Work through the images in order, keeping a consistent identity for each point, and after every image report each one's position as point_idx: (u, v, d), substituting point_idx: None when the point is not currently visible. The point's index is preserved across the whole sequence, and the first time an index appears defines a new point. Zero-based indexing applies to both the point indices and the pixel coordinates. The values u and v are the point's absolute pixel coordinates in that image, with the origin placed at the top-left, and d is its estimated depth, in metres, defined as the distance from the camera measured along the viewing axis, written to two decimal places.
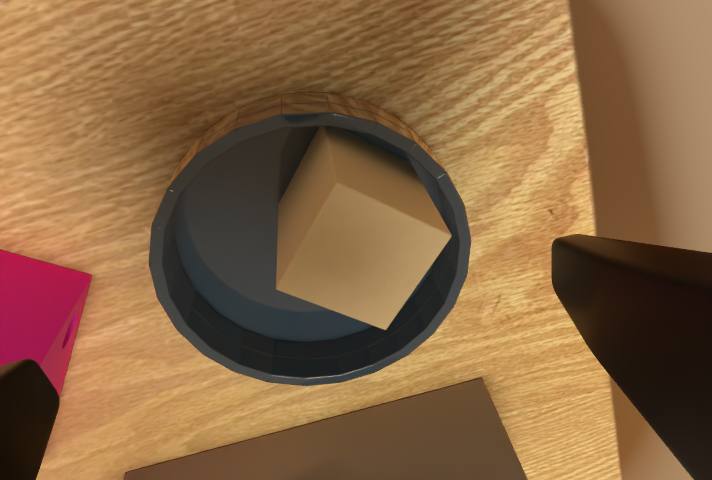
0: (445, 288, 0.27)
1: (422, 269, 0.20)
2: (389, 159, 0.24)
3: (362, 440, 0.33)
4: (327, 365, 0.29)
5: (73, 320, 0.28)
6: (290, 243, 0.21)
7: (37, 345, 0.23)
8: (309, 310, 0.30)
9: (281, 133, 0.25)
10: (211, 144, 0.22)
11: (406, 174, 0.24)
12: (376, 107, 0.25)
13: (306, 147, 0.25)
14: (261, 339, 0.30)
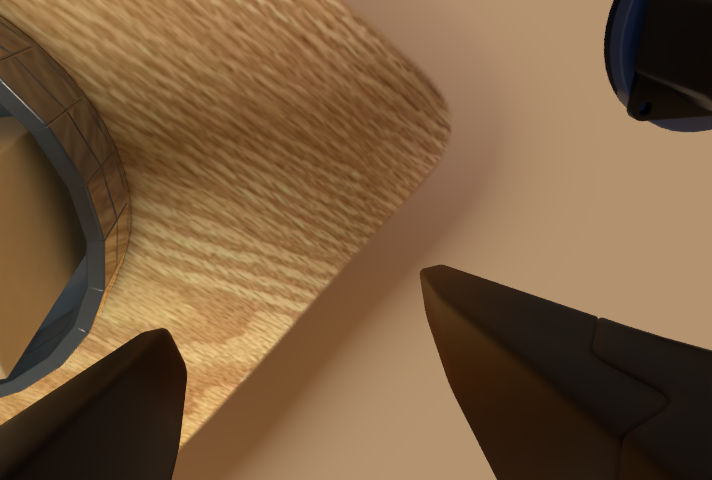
0: None
1: None
2: (70, 219, 0.18)
3: None
4: None
5: None
6: None
7: None
8: None
9: None
10: None
11: (65, 252, 0.18)
12: (118, 163, 0.19)
13: (2, 115, 0.18)
14: None
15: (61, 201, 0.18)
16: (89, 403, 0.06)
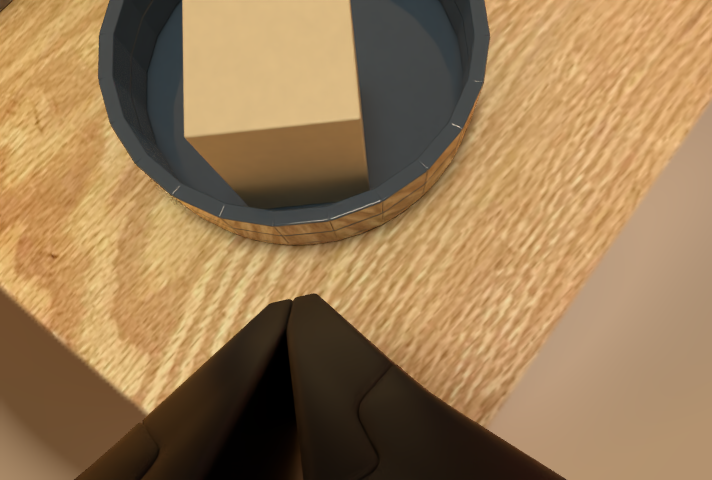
0: (122, 95, 0.21)
1: (191, 79, 0.15)
2: (282, 197, 0.21)
3: None
4: None
5: None
6: (353, 33, 0.17)
7: None
8: None
9: (400, 160, 0.22)
10: (474, 102, 0.19)
11: (258, 190, 0.19)
12: (324, 241, 0.22)
13: (367, 161, 0.22)
14: None
15: (302, 193, 0.20)
16: (264, 363, 0.06)
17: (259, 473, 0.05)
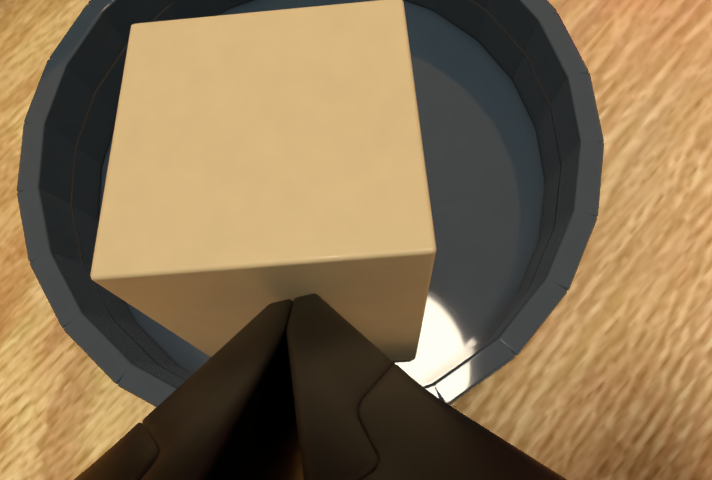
0: (54, 213, 0.14)
1: (120, 171, 0.08)
2: None
3: None
4: None
5: None
6: None
7: None
8: None
9: (458, 305, 0.15)
10: (585, 246, 0.12)
11: None
12: None
13: None
14: None
15: None
16: (264, 363, 0.06)
17: (259, 473, 0.05)
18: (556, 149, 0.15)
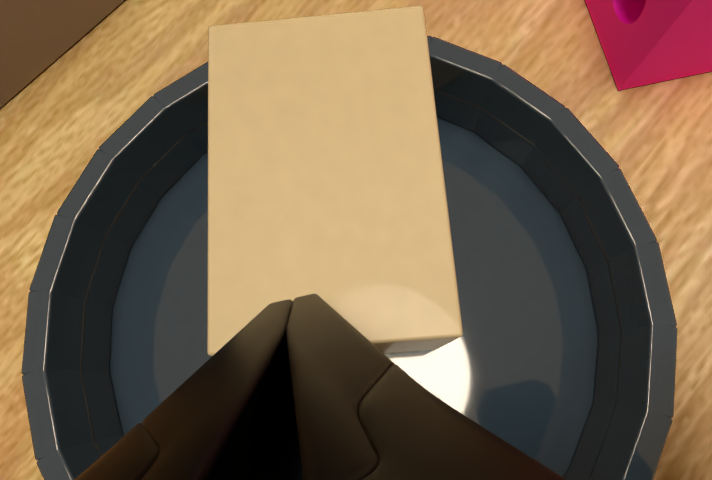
0: (63, 393, 0.13)
1: None
2: (284, 281, 0.10)
3: None
4: (195, 112, 0.15)
5: (617, 7, 0.16)
6: None
7: None
8: None
9: None
10: None
11: (249, 231, 0.11)
12: None
13: None
14: None
15: (324, 268, 0.10)
16: (264, 363, 0.06)
17: (259, 473, 0.05)
18: (615, 311, 0.13)
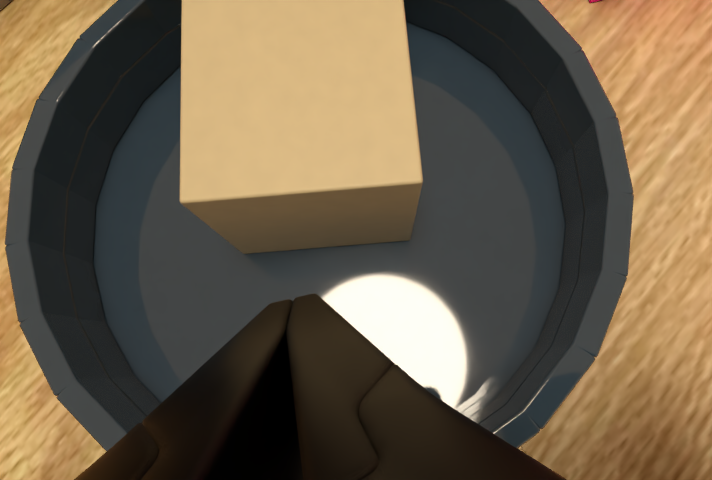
0: (45, 266, 0.13)
1: None
2: (253, 135, 0.11)
3: None
4: (174, 9, 0.15)
5: None
6: None
7: None
8: None
9: (473, 357, 0.14)
10: (614, 309, 0.12)
11: (220, 90, 0.11)
12: None
13: (423, 358, 0.15)
14: None
15: (291, 123, 0.11)
16: (264, 363, 0.06)
17: (259, 473, 0.05)
18: (579, 194, 0.14)
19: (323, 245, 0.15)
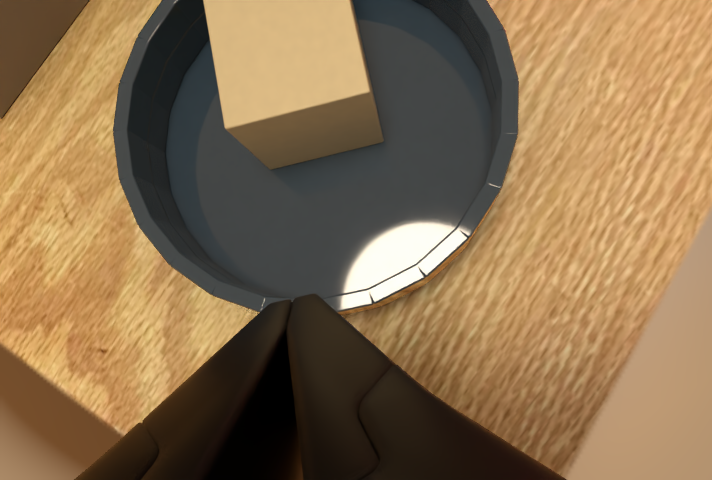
0: (145, 191, 0.20)
1: None
2: (262, 80, 0.17)
3: None
4: (195, 5, 0.21)
5: None
6: None
7: None
8: None
9: (436, 214, 0.21)
10: (510, 157, 0.18)
11: (237, 55, 0.18)
12: None
13: (402, 219, 0.21)
14: None
15: (284, 68, 0.17)
16: (264, 363, 0.06)
17: (259, 473, 0.05)
18: (492, 88, 0.20)
19: (324, 154, 0.22)
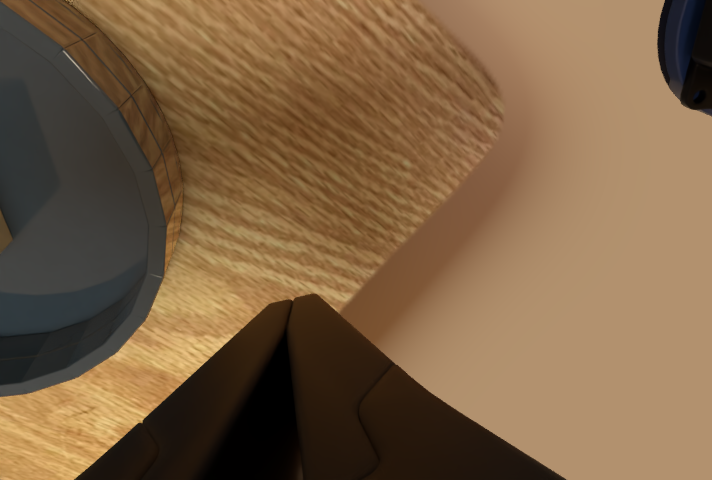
0: (40, 368, 0.20)
1: None
2: None
3: None
4: None
5: None
6: None
7: None
8: None
9: None
10: None
11: None
12: (174, 150, 0.19)
13: (63, 101, 0.18)
14: None
15: None
16: (264, 363, 0.06)
17: (259, 473, 0.05)
18: None
19: None
